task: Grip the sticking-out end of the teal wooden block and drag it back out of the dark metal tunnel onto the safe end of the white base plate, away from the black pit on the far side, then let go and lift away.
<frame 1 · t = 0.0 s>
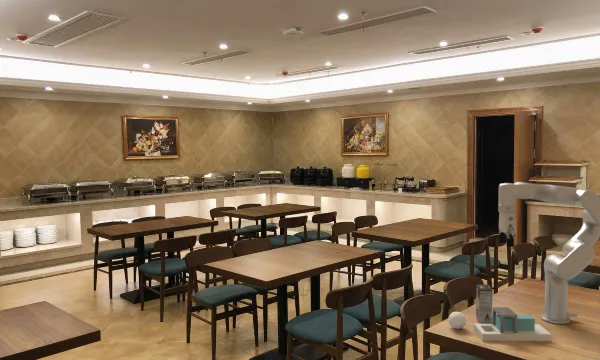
hand: (506, 244, 231), 37 cm above the table, tool pointing down, fingers open, 9 cm apart
block: (514, 328, 214), point 3 cm above the table, touching white base plate
tunnel: (504, 335, 214), resting on white base plate
geometric ball: (457, 328, 223), on the table
coffee box: (483, 319, 234), on the table
white base plate: (511, 335, 214), on the table
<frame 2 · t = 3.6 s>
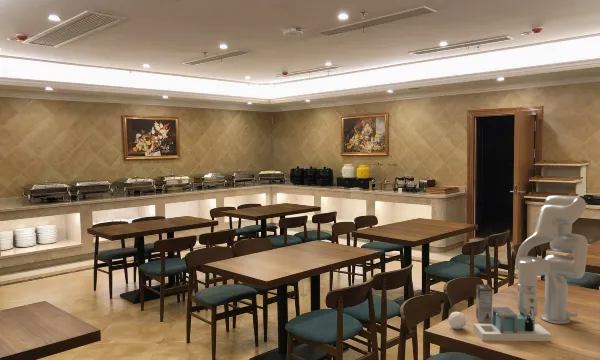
hand: (526, 328, 214), 3 cm above the table, tool pointing down, fingers closed on block, 5 cm apart
block: (514, 328, 214), point 3 cm above the table, touching white base plate, gripper
everything else where it was.
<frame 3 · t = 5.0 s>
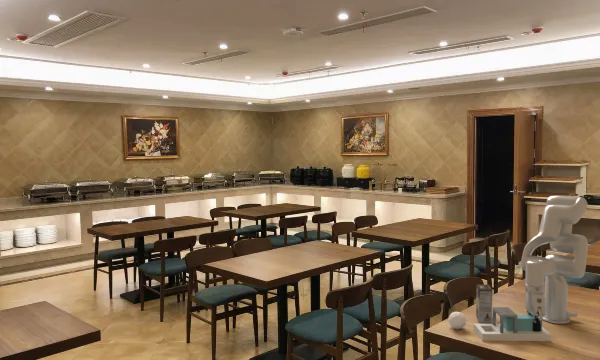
hand: (533, 328, 214), 3 cm above the table, tool pointing down, fingers closed on block, 5 cm apart
block: (522, 328, 214), point 3 cm above the table, touching gripper
everything else where it was.
when the fingers open (3 cm above the table, at t = 6.6 s): block stays where it is, resting on white base plate.
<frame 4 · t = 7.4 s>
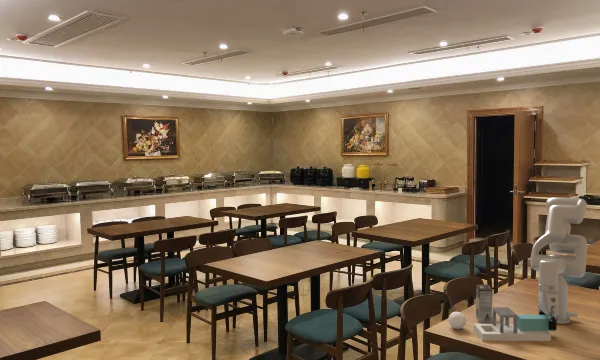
hand: (547, 325, 213), 5 cm above the table, tool pointing down, fingers open, 9 cm apart
block: (535, 328, 214), point 3 cm above the table, touching white base plate
everything else where it was.
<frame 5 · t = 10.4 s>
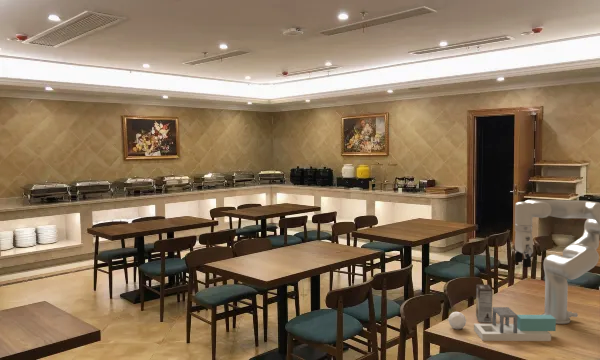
hand: (522, 264, 227), 28 cm above the table, tool pointing down, fingers open, 9 cm apart
nothing on the table moved.
at the end: block inside the target area (2.3 cm from its centre), point 3.0 cm above the table; block tilted 0°; the gripper is holding nothing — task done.
